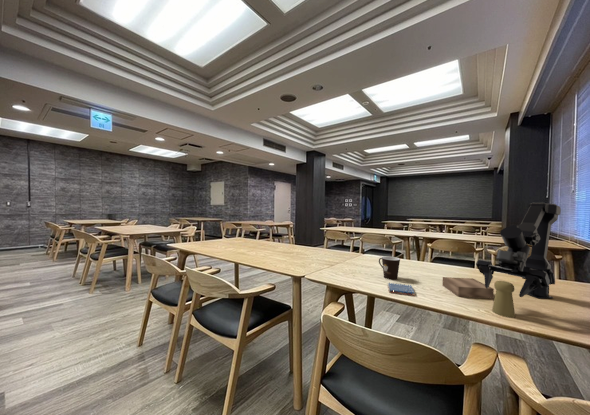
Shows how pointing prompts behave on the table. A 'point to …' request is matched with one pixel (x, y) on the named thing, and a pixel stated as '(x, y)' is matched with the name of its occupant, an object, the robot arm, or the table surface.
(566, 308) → the table surface
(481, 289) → the walnut block
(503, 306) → the cork
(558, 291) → the table surface
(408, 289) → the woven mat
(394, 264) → the coffee mug
